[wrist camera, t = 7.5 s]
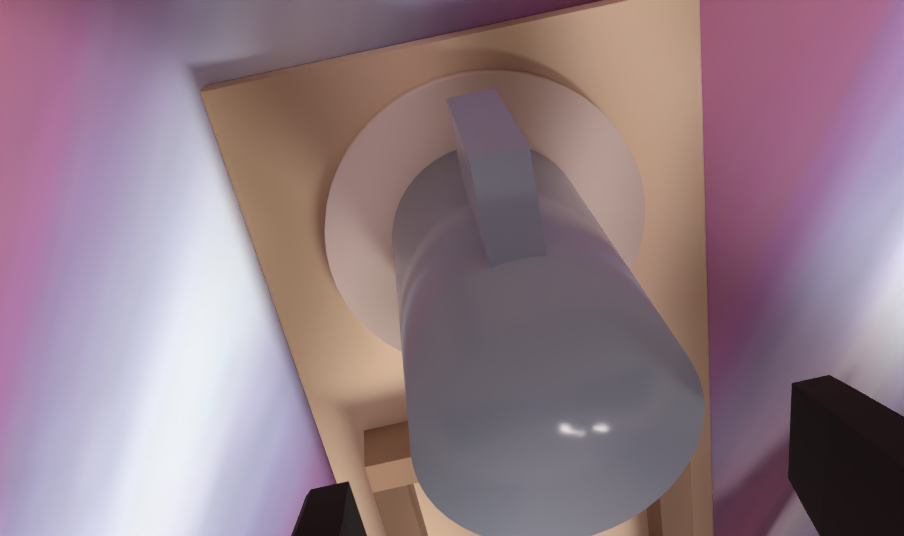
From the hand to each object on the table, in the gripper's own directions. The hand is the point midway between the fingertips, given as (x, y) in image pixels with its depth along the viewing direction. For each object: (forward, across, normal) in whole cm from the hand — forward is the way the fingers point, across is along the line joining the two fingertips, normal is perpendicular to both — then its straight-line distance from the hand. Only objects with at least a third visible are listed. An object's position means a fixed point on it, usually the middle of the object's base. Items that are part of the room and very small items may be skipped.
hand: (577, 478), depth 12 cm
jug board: (+10, 0, +6) cm, 11 cm away
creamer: (+9, 0, 0) cm, 9 cm away
